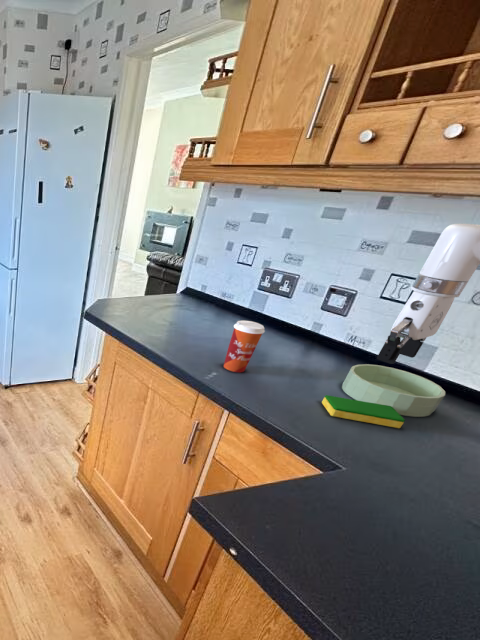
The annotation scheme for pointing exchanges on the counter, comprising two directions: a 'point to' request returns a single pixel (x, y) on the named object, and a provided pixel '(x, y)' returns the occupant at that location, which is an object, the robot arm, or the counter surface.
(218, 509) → the counter surface
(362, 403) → the dish sponge
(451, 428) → the counter surface
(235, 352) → the paper cup
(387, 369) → the bowl
